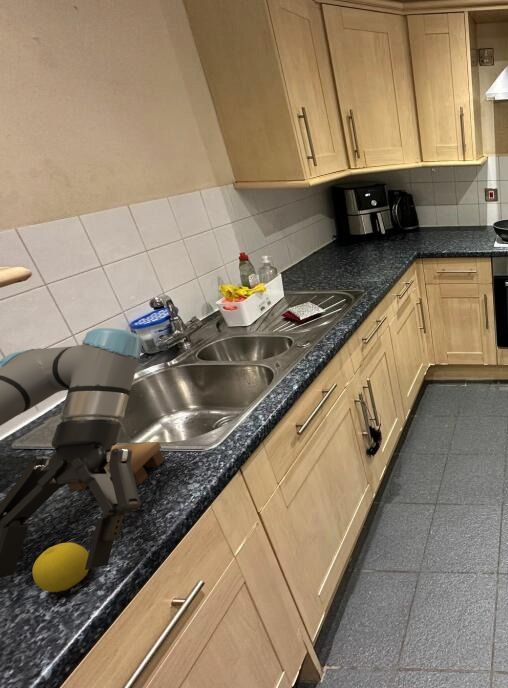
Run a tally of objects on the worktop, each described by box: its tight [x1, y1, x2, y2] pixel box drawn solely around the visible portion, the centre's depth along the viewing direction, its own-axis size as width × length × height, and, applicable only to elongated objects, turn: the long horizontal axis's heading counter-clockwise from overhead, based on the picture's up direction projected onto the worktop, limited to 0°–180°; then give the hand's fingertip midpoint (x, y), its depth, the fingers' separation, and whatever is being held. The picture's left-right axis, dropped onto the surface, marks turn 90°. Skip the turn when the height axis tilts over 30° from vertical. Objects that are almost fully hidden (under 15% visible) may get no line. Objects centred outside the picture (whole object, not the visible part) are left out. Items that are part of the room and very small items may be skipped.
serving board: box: [66, 441, 166, 491], centre depth 82 cm, size 14×7×5 cm, turn 93°
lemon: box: [32, 542, 90, 593], centre depth 61 cm, size 6×6×8 cm
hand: (48, 572), depth 59 cm, fingers open, 13 cm apart
